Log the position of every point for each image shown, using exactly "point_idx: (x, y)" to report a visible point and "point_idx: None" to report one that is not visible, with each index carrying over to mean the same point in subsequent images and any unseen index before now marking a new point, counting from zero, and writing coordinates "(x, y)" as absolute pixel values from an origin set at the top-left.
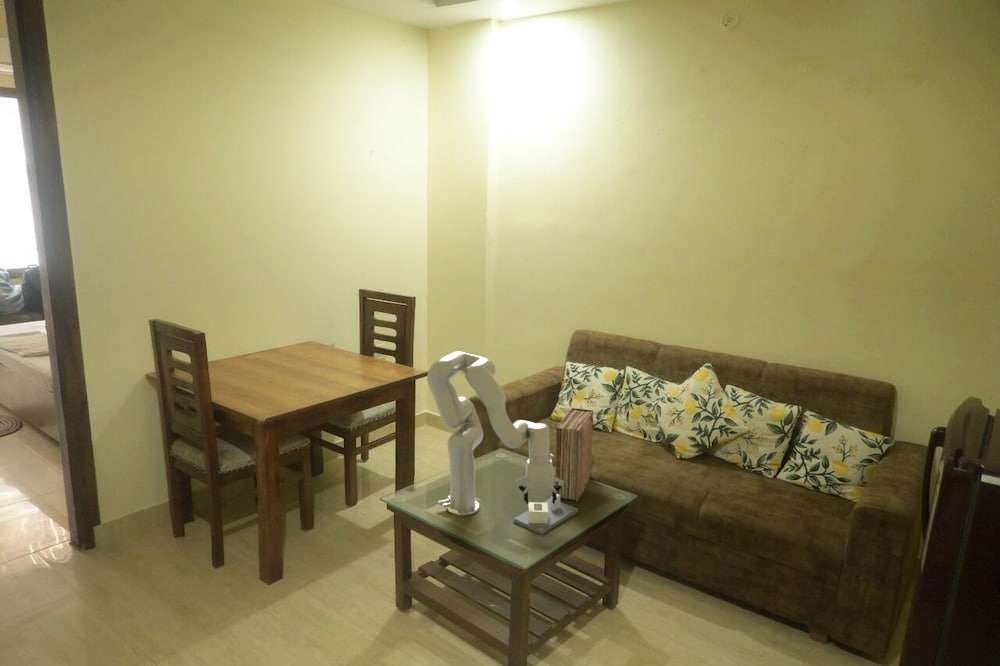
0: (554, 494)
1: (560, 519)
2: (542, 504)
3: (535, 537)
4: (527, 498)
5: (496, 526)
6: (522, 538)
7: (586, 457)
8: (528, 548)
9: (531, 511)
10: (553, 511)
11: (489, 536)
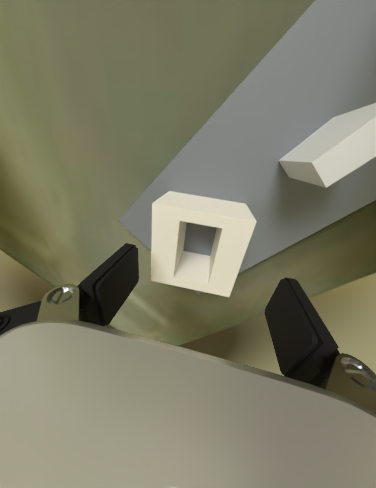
0: (295, 378)
1: (282, 249)
2: (222, 236)
3: (182, 293)
4: (120, 303)
5: (81, 232)
6: (151, 291)
7: None
8: (163, 321)
9: (162, 282)
10: (283, 184)
11: (77, 271)
